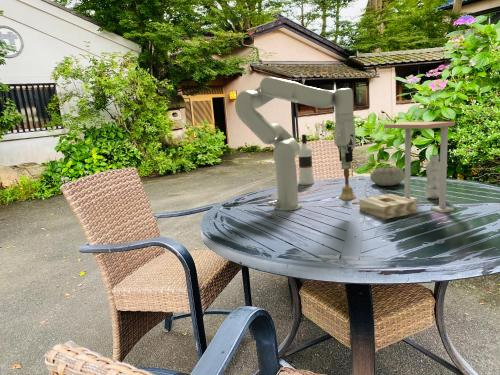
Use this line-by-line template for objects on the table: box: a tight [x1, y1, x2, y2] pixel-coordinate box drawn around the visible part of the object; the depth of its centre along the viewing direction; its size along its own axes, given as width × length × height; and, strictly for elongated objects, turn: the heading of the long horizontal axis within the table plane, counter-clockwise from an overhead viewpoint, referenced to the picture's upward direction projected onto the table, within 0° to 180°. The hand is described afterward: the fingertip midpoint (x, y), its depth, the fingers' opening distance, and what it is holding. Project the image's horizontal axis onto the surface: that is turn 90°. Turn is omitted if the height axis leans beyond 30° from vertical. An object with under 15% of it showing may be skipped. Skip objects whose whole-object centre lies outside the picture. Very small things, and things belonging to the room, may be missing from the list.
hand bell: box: [338, 169, 357, 201], centre depth 180 cm, size 8×8×16 cm
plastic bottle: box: [424, 154, 440, 200], centre depth 166 cm, size 6×7×20 cm
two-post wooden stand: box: [383, 121, 456, 213], centre depth 154 cm, size 14×26×36 cm, turn 18°
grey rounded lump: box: [369, 166, 405, 187], centre depth 203 cm, size 18×18×10 cm
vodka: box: [297, 134, 315, 186], centre depth 220 cm, size 9×9×30 cm
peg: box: [340, 144, 352, 170], centre depth 158 cm, size 4×4×11 cm
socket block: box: [358, 193, 418, 220], centre depth 153 cm, size 16×16×5 cm
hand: (346, 160), depth 158 cm, fingers closed on peg, 4 cm apart
